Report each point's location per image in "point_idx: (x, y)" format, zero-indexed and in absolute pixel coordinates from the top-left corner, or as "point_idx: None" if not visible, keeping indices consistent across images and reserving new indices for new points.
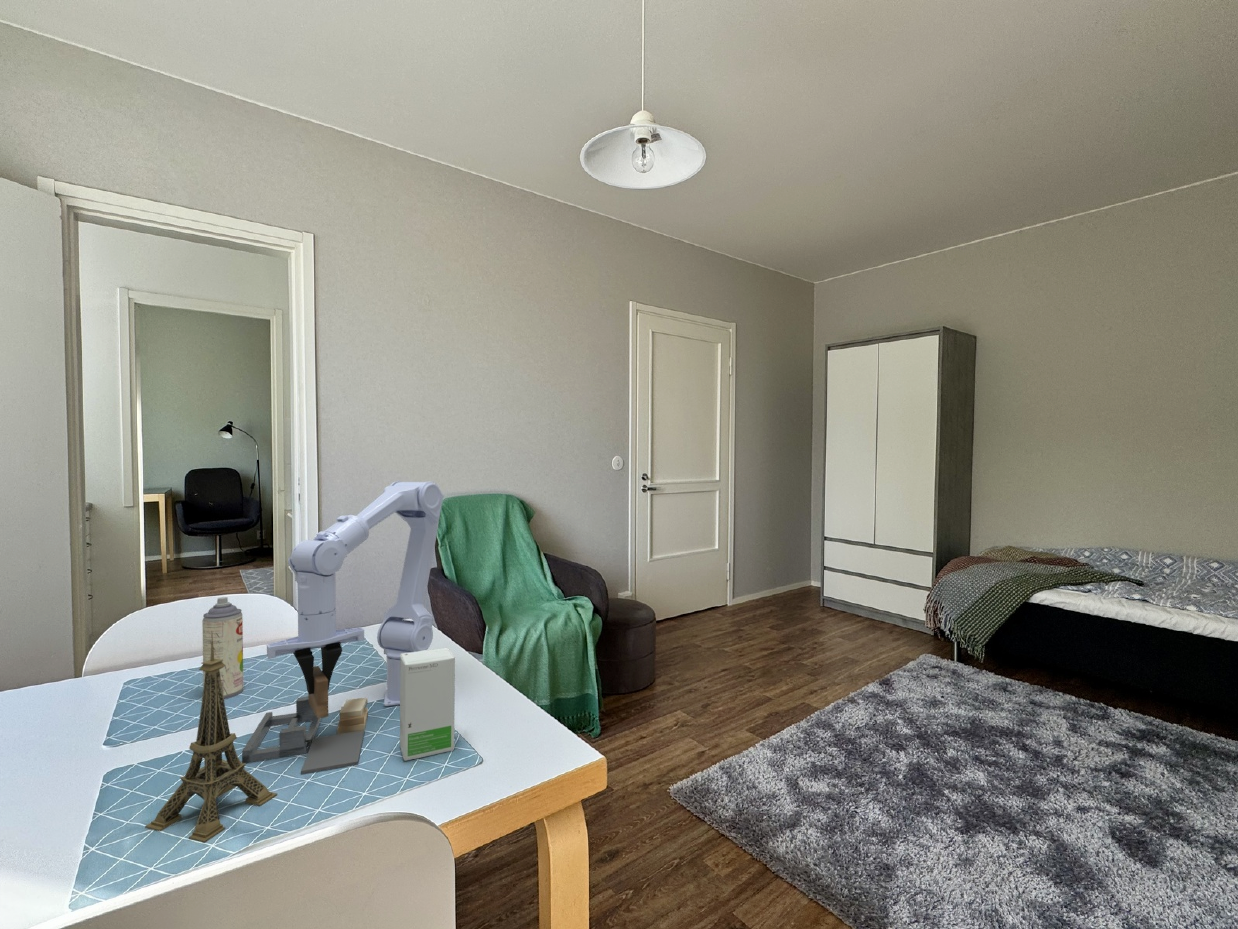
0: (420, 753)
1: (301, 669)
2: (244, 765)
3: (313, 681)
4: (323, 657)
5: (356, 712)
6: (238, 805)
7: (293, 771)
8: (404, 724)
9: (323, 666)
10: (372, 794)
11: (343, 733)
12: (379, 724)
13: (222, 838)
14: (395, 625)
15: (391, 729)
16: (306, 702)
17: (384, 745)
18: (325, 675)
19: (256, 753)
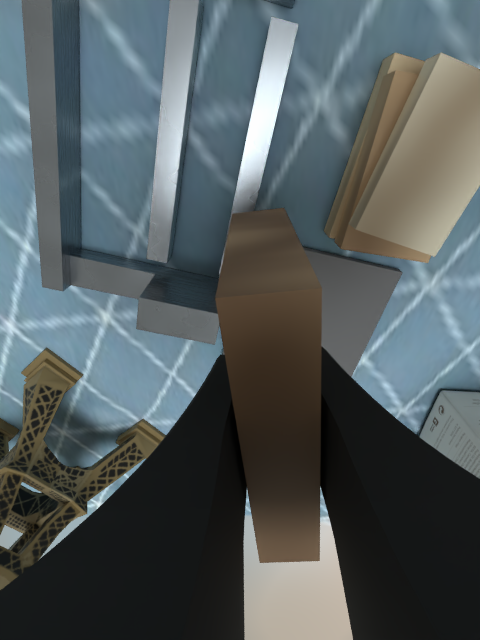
0: None
1: (152, 453)
2: (86, 510)
3: (246, 486)
4: (370, 597)
5: (415, 249)
6: (108, 437)
7: (196, 375)
8: None
9: (341, 483)
10: (320, 504)
11: (340, 257)
12: (465, 226)
13: (107, 498)
14: None
15: (474, 287)
16: None
17: (410, 367)
18: (325, 496)
19: (89, 284)
